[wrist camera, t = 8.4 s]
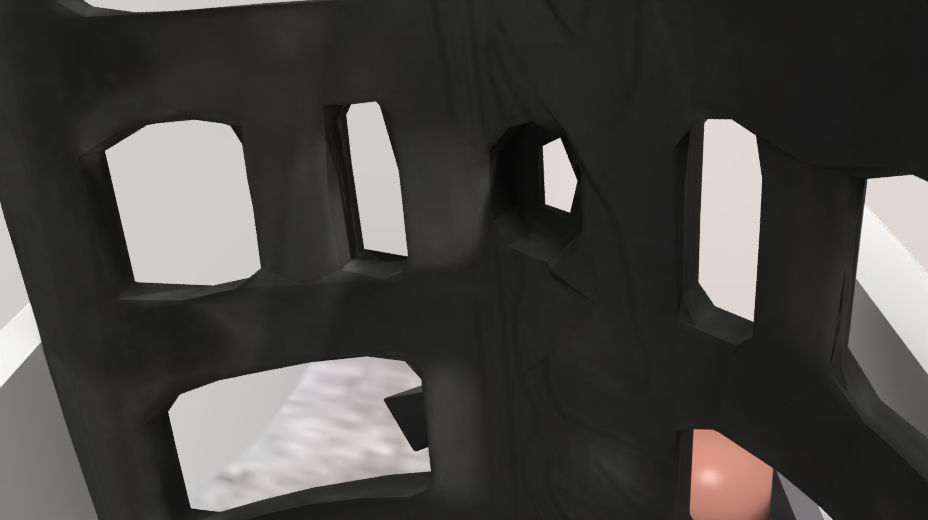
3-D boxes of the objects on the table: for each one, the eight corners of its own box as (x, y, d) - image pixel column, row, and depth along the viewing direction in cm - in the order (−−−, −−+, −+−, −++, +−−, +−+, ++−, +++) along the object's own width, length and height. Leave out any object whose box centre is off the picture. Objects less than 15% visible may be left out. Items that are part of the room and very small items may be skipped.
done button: (752, 466, 35) (754, 412, 34) (784, 554, 31) (789, 496, 30) (640, 473, 36) (638, 420, 34) (657, 560, 32) (656, 504, 30)
